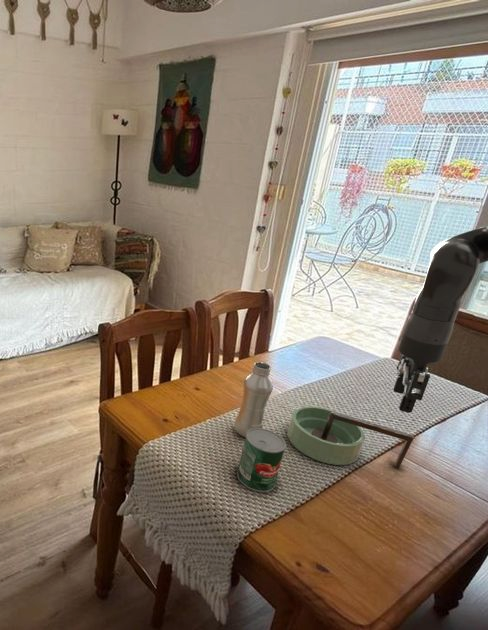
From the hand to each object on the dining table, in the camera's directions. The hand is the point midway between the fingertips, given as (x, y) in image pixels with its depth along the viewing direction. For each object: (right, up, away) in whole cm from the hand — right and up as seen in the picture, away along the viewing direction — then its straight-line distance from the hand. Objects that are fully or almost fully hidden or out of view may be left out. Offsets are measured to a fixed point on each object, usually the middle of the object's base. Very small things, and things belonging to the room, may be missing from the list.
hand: (401, 401), depth 97 cm
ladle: (-5, -14, +9) cm, 18 cm away
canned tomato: (-32, -18, 0) cm, 37 cm away
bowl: (-11, -13, +12) cm, 21 cm away
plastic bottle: (-28, -11, +15) cm, 34 cm away
